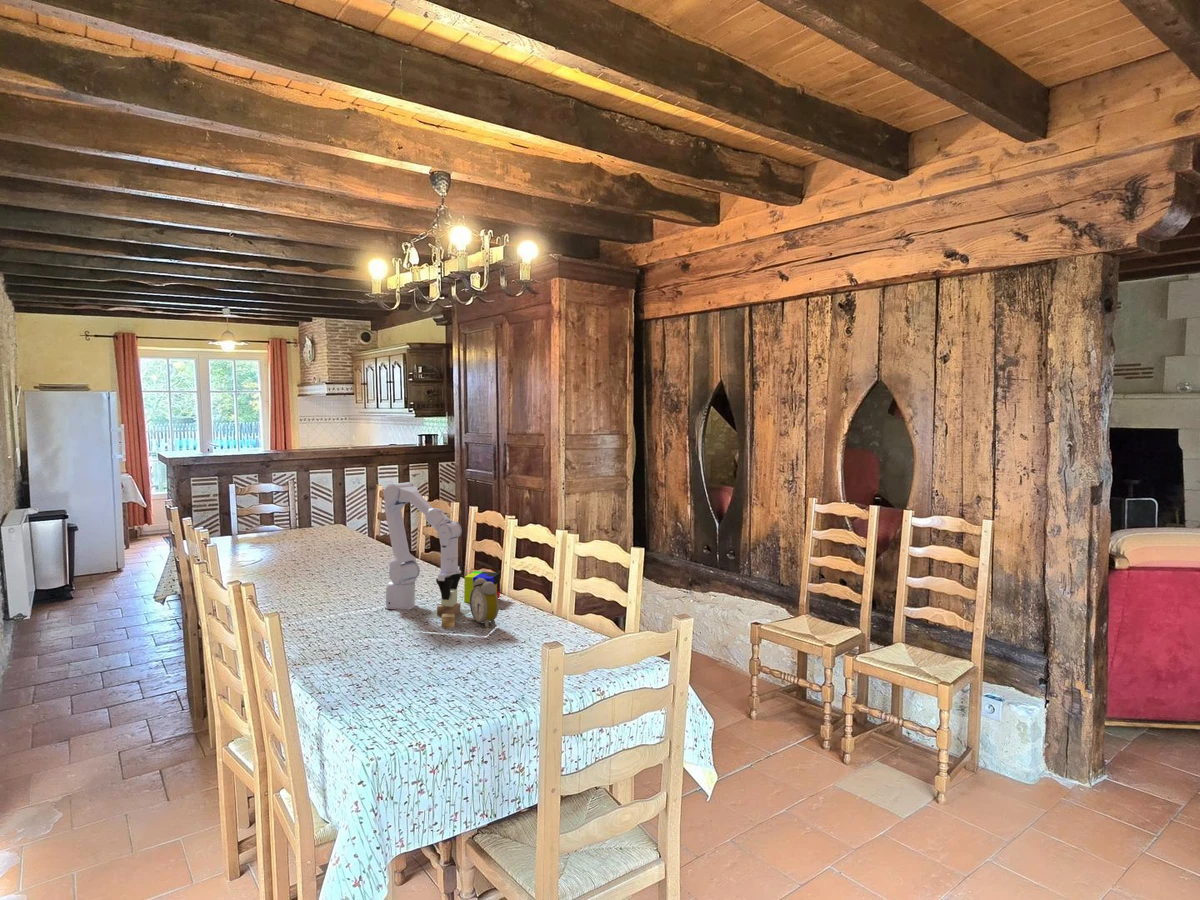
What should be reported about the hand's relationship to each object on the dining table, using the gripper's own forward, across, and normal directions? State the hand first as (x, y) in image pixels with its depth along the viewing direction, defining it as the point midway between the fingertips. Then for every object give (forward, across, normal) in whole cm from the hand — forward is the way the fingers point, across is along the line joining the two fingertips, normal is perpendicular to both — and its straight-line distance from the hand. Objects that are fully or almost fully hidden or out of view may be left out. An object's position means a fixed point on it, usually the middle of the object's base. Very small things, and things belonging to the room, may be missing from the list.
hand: (448, 597), depth 241 cm
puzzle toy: (+6, +20, -5) cm, 22 cm away
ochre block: (+6, -13, -5) cm, 15 cm away
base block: (+6, 0, 0) cm, 6 cm away
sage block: (+3, 0, 0) cm, 3 cm away
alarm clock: (+6, -8, -16) cm, 19 cm away
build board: (+6, 0, 0) cm, 6 cm away
